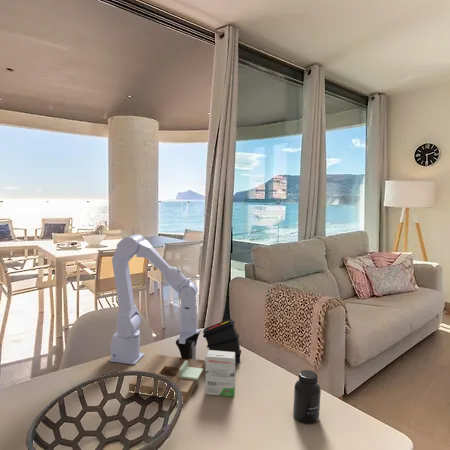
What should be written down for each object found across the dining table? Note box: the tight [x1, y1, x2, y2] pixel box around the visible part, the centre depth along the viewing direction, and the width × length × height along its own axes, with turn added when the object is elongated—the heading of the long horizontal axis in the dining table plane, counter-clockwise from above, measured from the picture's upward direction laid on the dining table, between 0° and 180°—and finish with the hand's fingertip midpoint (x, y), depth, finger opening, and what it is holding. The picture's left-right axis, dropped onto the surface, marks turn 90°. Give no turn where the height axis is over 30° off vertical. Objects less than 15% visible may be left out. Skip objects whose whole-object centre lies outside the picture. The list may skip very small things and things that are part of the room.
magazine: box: [202, 318, 242, 364], centre depth 123 cm, size 4×13×15 cm, turn 81°
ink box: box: [205, 349, 236, 398], centre depth 104 cm, size 9×5×12 cm, turn 82°
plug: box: [189, 341, 197, 359], centre depth 122 cm, size 4×4×7 cm
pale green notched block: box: [179, 360, 203, 380], centre depth 108 cm, size 6×6×3 cm
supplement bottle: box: [292, 369, 322, 425], centre depth 93 cm, size 7×7×12 cm
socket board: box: [128, 353, 206, 403], centre depth 110 cm, size 18×19×3 cm
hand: (188, 355), depth 122 cm, fingers open, 7 cm apart
